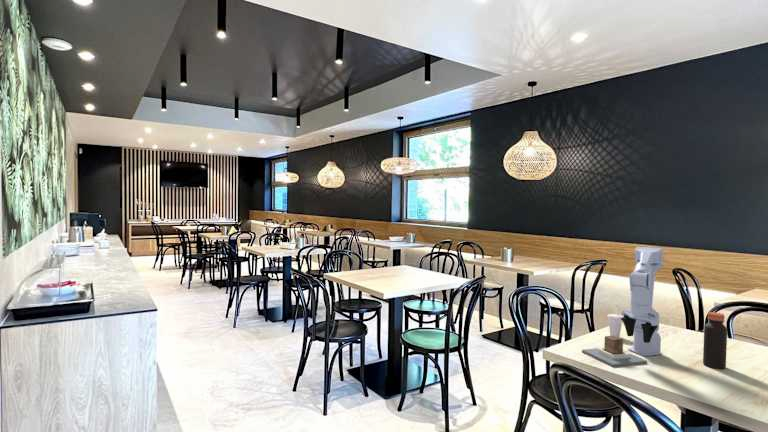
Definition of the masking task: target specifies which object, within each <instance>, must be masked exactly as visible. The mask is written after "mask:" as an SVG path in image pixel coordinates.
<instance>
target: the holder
mask: <svg viewBox="0 0 768 432" xmlns="http://www.w3.org/2000/svg"><path fill="white" fill-rule="evenodd" d="M581 353H583V354H585V355H587V356H589V357H591V358H593V359H594V360H595V359H596V360H598V361H599V362H602V363H603V364H606V365H608V366H610V367H612V368H616V367H624V366H625V367H627V366H635V365H636V366H637V365H642V364H643V365H644V364H648V360H647V359H644V358H642V357H639V356H637V355H634V354H633V353H630V352H628V351H626V350H623V354H616V355H613V354H611V353H608V352H606V351H604V347H598V348H597V347H596V348H585V349H582V350H581Z"/></svg>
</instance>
